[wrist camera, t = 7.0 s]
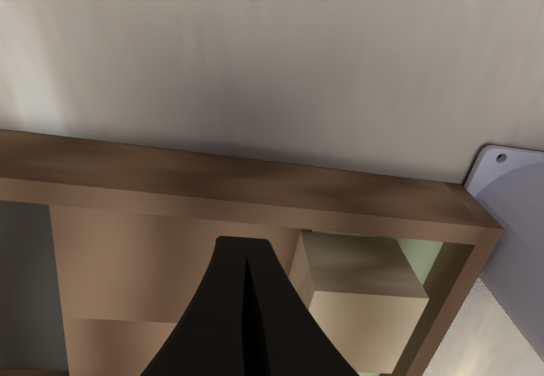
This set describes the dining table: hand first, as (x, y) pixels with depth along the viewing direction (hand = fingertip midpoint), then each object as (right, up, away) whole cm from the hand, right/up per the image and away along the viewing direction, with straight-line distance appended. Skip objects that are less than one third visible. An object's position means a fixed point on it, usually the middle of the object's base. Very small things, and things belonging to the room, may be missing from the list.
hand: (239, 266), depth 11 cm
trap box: (-3, -4, +13) cm, 14 cm away
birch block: (+4, -2, +10) cm, 12 cm away
